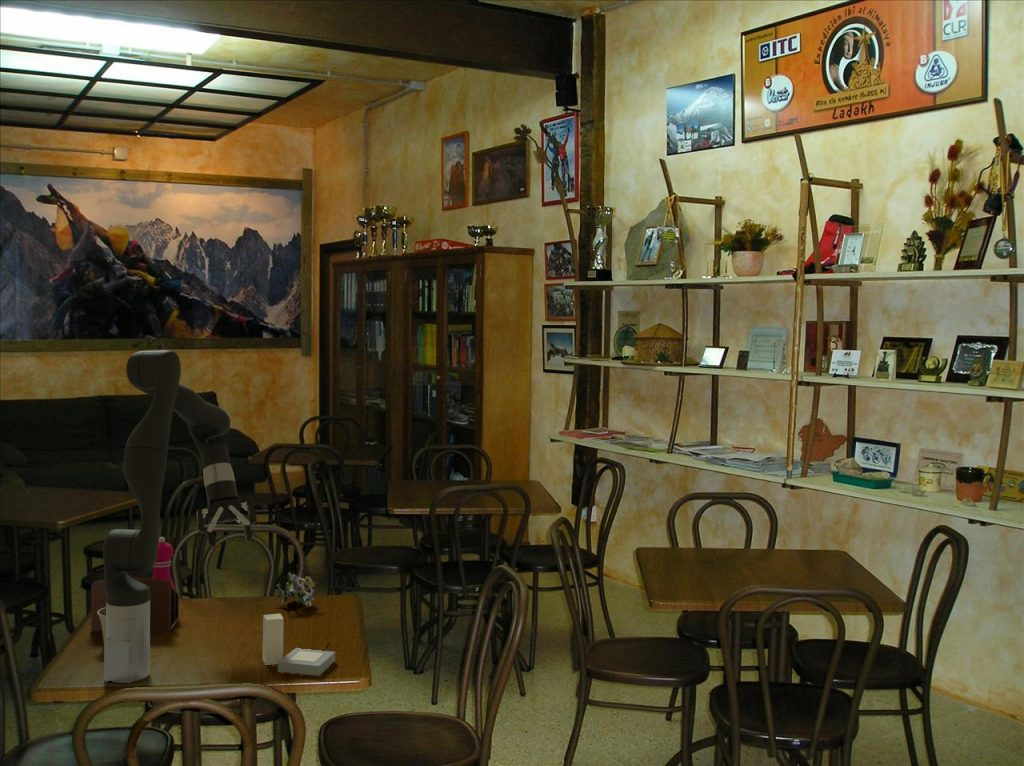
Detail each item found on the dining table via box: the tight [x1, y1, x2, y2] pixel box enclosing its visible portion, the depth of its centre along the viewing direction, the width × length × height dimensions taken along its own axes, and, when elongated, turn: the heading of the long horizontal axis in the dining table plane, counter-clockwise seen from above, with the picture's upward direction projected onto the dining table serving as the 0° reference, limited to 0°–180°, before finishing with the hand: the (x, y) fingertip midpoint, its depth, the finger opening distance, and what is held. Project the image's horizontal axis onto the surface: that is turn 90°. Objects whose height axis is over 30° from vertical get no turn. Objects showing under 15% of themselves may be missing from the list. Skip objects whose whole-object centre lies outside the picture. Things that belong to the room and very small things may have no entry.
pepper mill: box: [152, 536, 176, 591], centre depth 277 cm, size 7×7×20 cm
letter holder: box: [90, 576, 180, 633], centre depth 262 cm, size 10×20×14 cm, turn 96°
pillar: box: [262, 613, 285, 665], centre depth 238 cm, size 4×4×11 cm
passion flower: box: [274, 572, 316, 609], centre depth 283 cm, size 11×11×12 cm
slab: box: [277, 647, 336, 676], centre depth 235 cm, size 10×10×3 cm
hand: (231, 544), depth 254 cm, fingers open, 8 cm apart
